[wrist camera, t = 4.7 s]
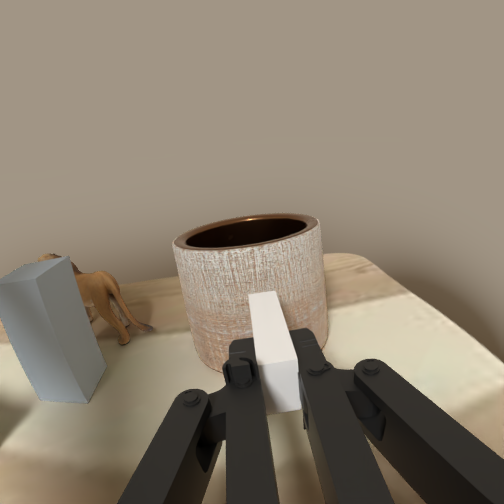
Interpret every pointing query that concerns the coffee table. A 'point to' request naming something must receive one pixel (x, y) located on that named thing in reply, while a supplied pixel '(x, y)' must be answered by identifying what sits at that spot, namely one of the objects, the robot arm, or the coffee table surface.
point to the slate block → (51, 330)
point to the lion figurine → (103, 299)
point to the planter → (250, 277)
